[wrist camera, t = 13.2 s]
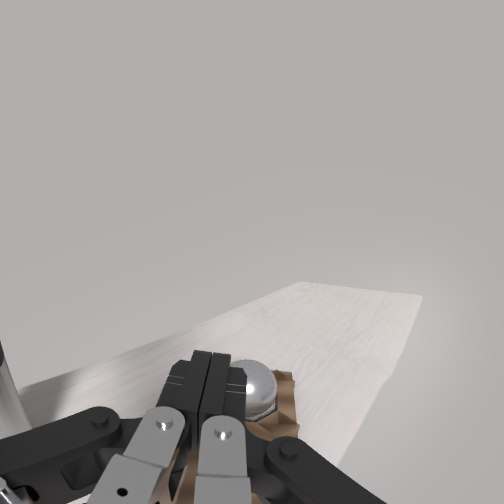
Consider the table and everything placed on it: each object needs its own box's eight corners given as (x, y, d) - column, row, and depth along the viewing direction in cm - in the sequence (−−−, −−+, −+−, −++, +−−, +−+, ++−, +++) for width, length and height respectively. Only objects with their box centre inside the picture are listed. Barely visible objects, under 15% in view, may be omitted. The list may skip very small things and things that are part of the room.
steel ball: (211, 352, 51) (205, 405, 50) (236, 368, 42) (228, 429, 41) (261, 354, 56) (255, 403, 54) (293, 367, 47) (284, 423, 46)
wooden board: (304, 529, 26) (308, 523, 26) (152, 512, 27) (150, 506, 26) (292, 378, 60) (294, 370, 59) (199, 367, 60) (199, 360, 59)
